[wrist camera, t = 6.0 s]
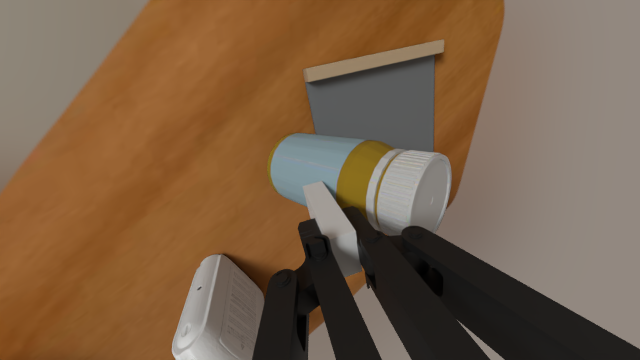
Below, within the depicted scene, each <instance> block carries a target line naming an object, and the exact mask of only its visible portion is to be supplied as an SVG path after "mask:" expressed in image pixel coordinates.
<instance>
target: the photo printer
mask: <svg viewBox="0 0 640 360" xmlns="http://www.w3.org/2000/svg"><path fill="white" fill-rule="evenodd" d="M263 307H264V296H263V293H262V291H261V290H260V289H259V288H258V286H257V285H256V284H255V283H254V282H253V281H252V280H251V279H250V278H249V277H248V276H247V275H246V274H245V273H244V272H243V271H242V270H240V269H239V268H238V267H237V266H236V265H235V264H234V263H233V262H232V261H231V260H230V259H228V258H227V257H226V256H224V255H223V254H220V255H219V254H215V255H211V256H209V257H207V258H205V259H204V260H203V261H202V263H201V265H200V267H199V268H198V269H197V271H196V273H195V276H194V279H193V281H192V285H191V287H190V291H189V294H188V297H187V300H186V303H185V306H184V309H183V312H182V315H181V318H180V321H179V324H178V328H177V330H176V334H175V337H174V340H173V343H172V353H173V355H174V357H175V359H176V360H252V356H253V352H254V347H255V343H256V338H257V334H258V329H259V325H260V320H261V316H262V311H263Z"/></svg>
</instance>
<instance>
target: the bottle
mask: <svg viewBox="0 0 640 360" xmlns="http://www.w3.org/2000/svg"><path fill="white" fill-rule="evenodd" d="M267 173H268V178H269V181H270V184H271V186H272V187H273V189H274V190H275V191H276V192H277V193H278V194H280V195H281V196H284V197H285V198H288V199H290V200H292V201H295V202H297V203H299V204H301V205H304V206H306V207H308V206H307V202H306V198H305V194H304V190H303V187H302V186H306V185H309V184H312V183H316V182H319V181H322V182H323V183H324V185H325V186H326V188H327V189H328V191H329V192H330V194H331V195H332V197H333V198H334V200H335V201H336V202H337V204H338V205H339V207H340V208H341V209H343V208H347V207H350V206H354V207H356V208H358V209H359V210H360V212H361V213H362V214H363V215H364V217H365V218H366V219H367V220H368V221H369V223H370V224H371V225H372V226H373V228H374V229H376V230H378V231H381V232H383V233H385V234H387V235H389V236H394V235H401V232H402V230H403V229H404V228H405V227H408V226H420V227H423V228H425V229H427V230H429V231H431V232H432V233H434V234H435V232H436V231H437V229H438V227H439V225H440V223H441V221H442V218H443V216H444V213H445V210H446V207H447V203H448V199H449V194H450V188H451V166H450V162H449V160H448V158H447V157H446V156H445V155H442V154H439V153H433V152H424V151H415V150H409V151H407V150H404V149H395V148H393V147H391V146H390V145H388V144H386V143H384V142H382V141H375V140H368V139H357V138H347V137H337V136H326V135H316V134H306V133H292V134H289V135H286V136H284V137H283V138H282V139H280V140H279V141H278V142H277V143H276V145H275V146H274V148H273V149H272V151H271V153H270V156H269V160H268V168H267Z"/></svg>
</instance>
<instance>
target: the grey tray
mask: <svg viewBox="0 0 640 360" xmlns="http://www.w3.org/2000/svg"><path fill="white" fill-rule="evenodd" d="M442 52H444V39H443V40H438V41H433V42H429V43H424V44H419V45H415V46H410V47H405V48H400V49H396V50H391V51H386V52H382V53H377V54H372V55H367V56H363V57H358V58H353V59H349V60H344V61H339V62H334V63H330V64H325V65H320V66H316V67H311V68H306V69H303V74H304V79H305V84H306V89H307V94H308V99H309V103H310V108H311V113H312V118H313V123H314V128H315V133H316V135H326V136H337V137H347V138H357V139H368V140H375V141H382V142H384V143H386V144H388V145H390V146H391V147H393V148H395V149H404V150H407V151H409V150H415V151H424V152H433V141H434V62H435V54H437V53H442Z"/></svg>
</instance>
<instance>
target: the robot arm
mask: <svg viewBox="0 0 640 360" xmlns="http://www.w3.org/2000/svg"><path fill="white" fill-rule="evenodd" d="M302 187H303V190H304V194H305V198H306V202H307V206H308V210H309V214H310V218H311V219H310V220H307V221H304V222H301V223H299V226H298V231H299V234H300V238H301V241H302V245H303V248H304V251H305V256H306V258H305V261H304V263H303V264H302V265H301V267H299V268H298V269H296V270H295V271H293V270H290V269H284V270H280V271H278V272H277V273H275V274H274V275H273V276H272V277H271V279H270V281H269V284H268V288H267V293H266V298H265V302H264V307H263V311H262V316H261V320H260V325H259V329H258V334H257V338H256V343H255V347H254V352H253V356H252V360H308V336H309V313H310V312H311V311H312V310H314V309H315V308H316V307H318V306H319V305H320V307H321V310H322V313H323V317H324V320H325V323H326V327H327V330H328V333H329V337H330V340H331V344H332V347H333V351H334V354H335V358H336V360H382V359H381V357H380V355H379V352H378V350H377V348H376V346H375V344H374V342H373V339H372V337H371V335H370V333H369V331H368V329H367V326H366V324H365V322H364V320H363V318H362V315H361V313H360V311H359V309H358V307H357V305H356V302H355V300H354V298H353V296H352V294H351V291H350V289H349V287H348V285H347V283H346V280H345V278H344V277H347V276H349V275H352V274H355V273H358V272H361V271H362V267H363V268H364V270H365V277H366V283H367V287H368V289H369V288H370V286H371V288H372V290H373V291H374V293H375V295H376V297H377V298H378V300H379V302H380V304H381V306H382V308H383V309H384V311H385V313H386V315H387V316H388V318H389V320H390V322H391V324H392V325H393V327H394V329H395V331H396V333H397V334H398V336H399V338H400V340H401V341H402V343H403V345H404V347H405V349H406V350H407V352H408V354H409V356H410V357H411V359H412V360H490V359H489V358H488V356H487V355H486V354H485V353H484V352H483V350H482V349H481V348H480V347H479V346H478V345H477V343H476V342H475V341H474V340H473V339H472V337H471V336H470V335H469V334H468V333H467V332H466V330H465V329H464V328H463V327H462V326H461V324H460V323H462V324H463V325H464V326H465V327H466V328H468V329H469V330H470V331H471V332H473V333H474V334H475V335H476V336H477V337H479V338H480V339H481V340H482V341H483V342H484V343H486V344H487V345H488V346H489V347H490V348H492V349H493V350H494V351H495V352H496V353H498V354H499V355H500V356H501V357H502V358H504V359H505V360H640V349H639V348H637V347H635V346H633V345H631V344H630V343H628V342H626V341H625V340H623V339H621V338H619V337H617V336H616V335H613V334H612V333H610V332H608V331H607V330H605V329H603V328H601V327H600V326H598V325H596V324H594V323H592V322H591V321H589V320H587V319H585V318H584V317H582V316H580V315H578V314H576V313H575V312H573V311H571V310H569V309H568V308H566V307H564V306H562V305H560V304H559V303H557V302H555V301H553V300H552V299H550V298H548V297H546V296H544V295H543V294H541V293H539V292H537V291H535V290H534V289H532V288H530V287H528V286H527V285H525V284H523V283H521V282H520V281H517V280H516V279H514V278H512V277H510V276H509V275H507V274H505V273H503V272H501V271H500V270H498V269H496V268H495V267H493V266H491V265H489V264H487V263H485V262H484V261H482V260H480V259H479V258H477V257H475V256H473V255H471V254H470V253H468V252H466V251H464V250H463V249H461V248H459V247H457V246H455V245H454V244H452V243H450V242H448V241H446V240H445V239H443V238H441V237H439V236H438V235H436V234H434V233H432V232H431V231H429V230H427V229H425V228H423V227H420V226H408V227H405V228H404V229H403V230H402V232H401V235H394V236H387V235H385V234H384V233H382V232H381V231H378V230H375V229H374V228H373V226H372V225H371V224H370V223H369V221H368V220H367V219H366V218H365V217H364V215H363V214H362V213H361V212H360V210H359V209H358V208H356V207H354V206H350V207H347V208H343V209H341V208H340V207H339V205H338V204H337V202H336V201H335V200H334V198H333V197H332V195H331V194H330V192H329V191H328V189H327V188H326V186H325V185H324V183H323V182H322V181H319V182H316V183H312V184H309V185H306V186H302ZM361 265H362V267H361ZM369 284H370V286H369ZM456 319H457V320H458V321H459V322H460V323H459V322H458V321H457V320H456Z"/></svg>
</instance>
